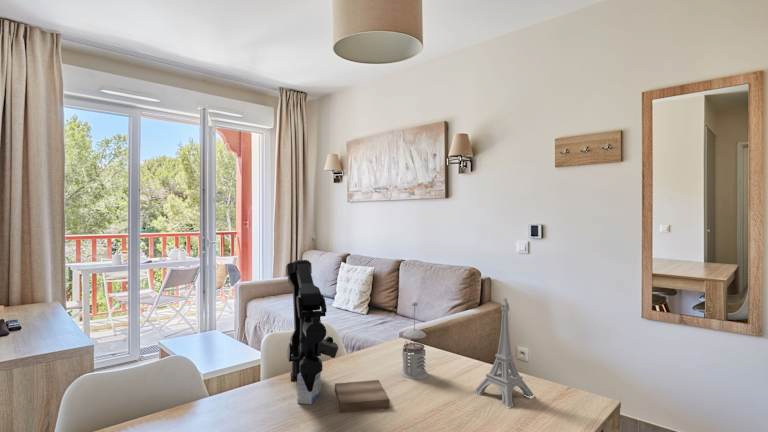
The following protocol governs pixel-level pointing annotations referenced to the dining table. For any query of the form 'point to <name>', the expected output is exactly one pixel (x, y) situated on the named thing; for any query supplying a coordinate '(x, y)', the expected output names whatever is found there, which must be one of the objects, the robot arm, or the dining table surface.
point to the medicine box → (302, 390)
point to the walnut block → (361, 396)
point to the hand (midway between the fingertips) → (309, 385)
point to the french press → (417, 358)
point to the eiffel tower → (504, 366)
